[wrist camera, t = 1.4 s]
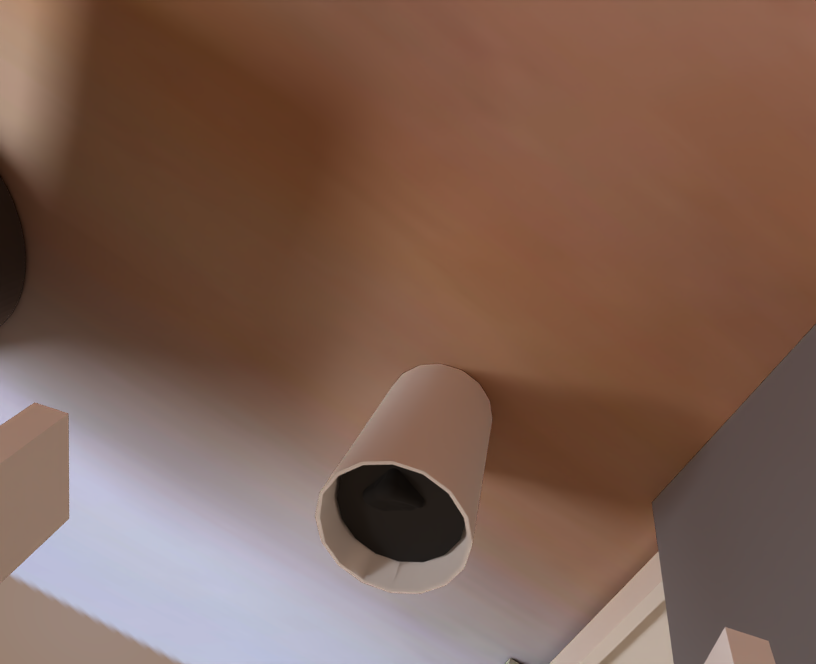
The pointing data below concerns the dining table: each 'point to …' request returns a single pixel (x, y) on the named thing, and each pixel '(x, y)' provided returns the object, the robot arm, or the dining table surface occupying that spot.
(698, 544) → the cabinet
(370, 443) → the white cup
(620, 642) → the drawer
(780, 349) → the dining table surface
